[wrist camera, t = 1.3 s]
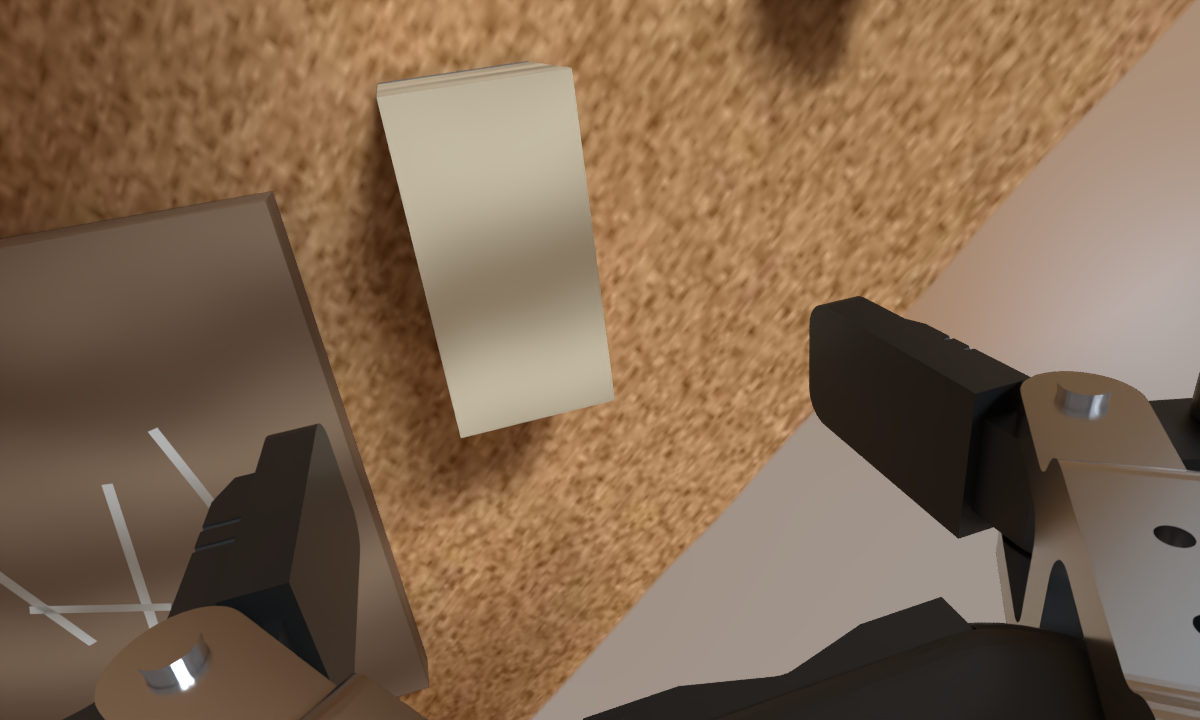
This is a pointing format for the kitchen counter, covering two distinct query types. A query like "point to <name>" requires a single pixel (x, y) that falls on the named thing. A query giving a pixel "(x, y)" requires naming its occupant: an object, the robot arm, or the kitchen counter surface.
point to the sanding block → (502, 238)
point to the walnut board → (155, 435)
